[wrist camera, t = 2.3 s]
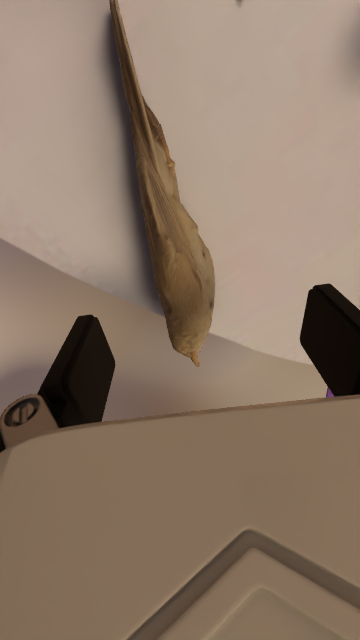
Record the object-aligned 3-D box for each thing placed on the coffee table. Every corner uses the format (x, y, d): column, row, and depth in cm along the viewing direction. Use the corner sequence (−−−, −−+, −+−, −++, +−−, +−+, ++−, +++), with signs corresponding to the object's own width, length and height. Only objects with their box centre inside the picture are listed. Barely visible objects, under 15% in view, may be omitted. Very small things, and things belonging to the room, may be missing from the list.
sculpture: (192, -97, 9) (61, -57, 9) (220, 391, 22) (164, 392, 23) (199, -2, 14) (114, 19, 15) (218, 346, 27) (172, 348, 28)
